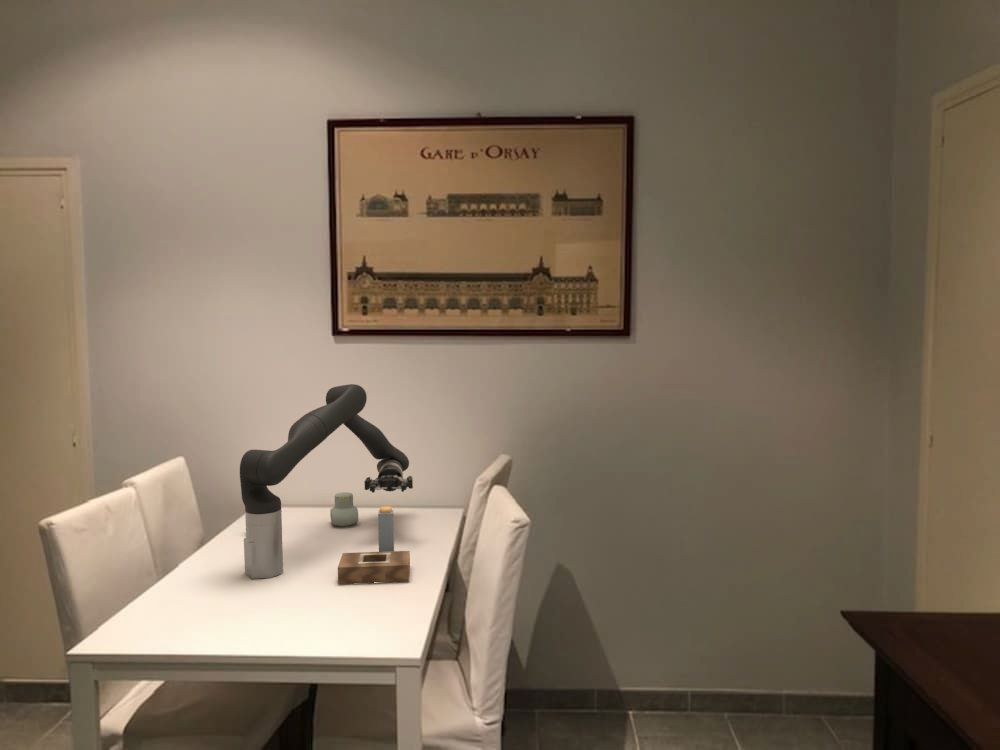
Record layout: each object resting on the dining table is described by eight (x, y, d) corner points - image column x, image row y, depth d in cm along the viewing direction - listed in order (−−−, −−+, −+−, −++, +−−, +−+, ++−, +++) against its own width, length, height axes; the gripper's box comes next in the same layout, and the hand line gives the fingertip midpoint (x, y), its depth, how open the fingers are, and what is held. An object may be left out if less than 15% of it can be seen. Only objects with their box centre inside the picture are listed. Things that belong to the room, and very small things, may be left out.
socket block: (338, 584, 205) (337, 566, 204) (343, 569, 217) (342, 552, 216) (408, 582, 206) (408, 564, 206) (409, 566, 218) (409, 550, 218)
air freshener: (330, 521, 265) (329, 491, 264) (355, 518, 268) (354, 489, 267) (333, 529, 255) (332, 499, 254) (359, 527, 257) (358, 497, 256)
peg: (379, 563, 221) (378, 509, 220) (380, 558, 225) (378, 506, 224) (393, 563, 222) (392, 509, 220) (394, 558, 226) (393, 505, 224)
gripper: (367, 465, 248) (362, 476, 232) (413, 463, 249) (412, 475, 233) (367, 488, 249) (363, 502, 233) (413, 487, 250) (412, 500, 234)
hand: (387, 488), depth 233 cm, fingers open, 8 cm apart
